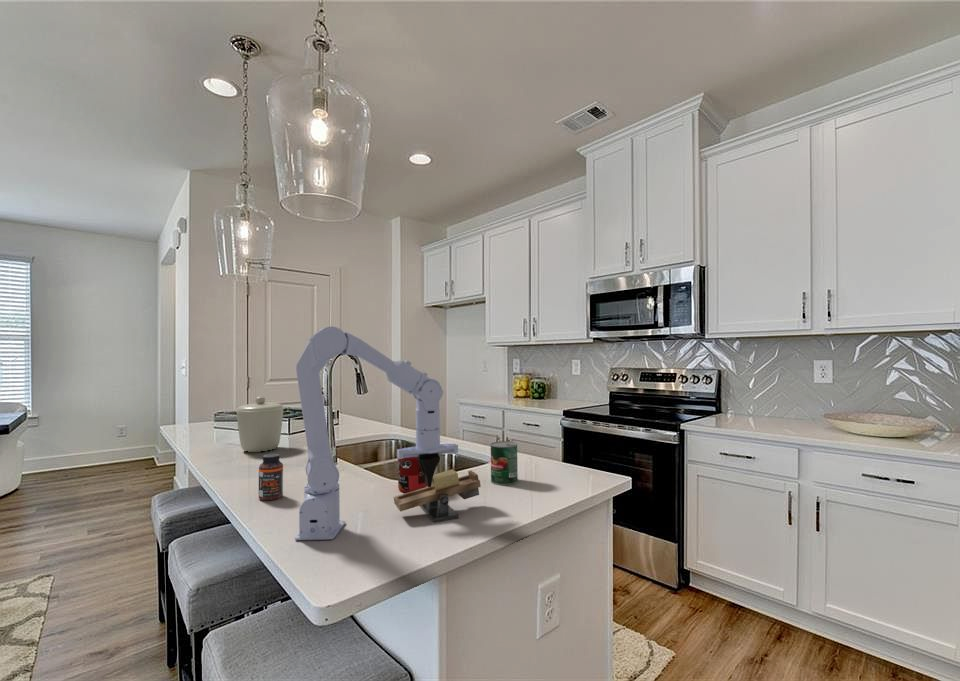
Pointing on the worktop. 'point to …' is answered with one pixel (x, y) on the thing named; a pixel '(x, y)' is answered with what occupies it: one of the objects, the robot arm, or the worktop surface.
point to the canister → (259, 425)
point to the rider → (444, 480)
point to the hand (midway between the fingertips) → (428, 485)
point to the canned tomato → (504, 463)
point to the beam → (426, 495)
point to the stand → (439, 509)
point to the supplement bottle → (270, 478)
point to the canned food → (410, 475)
